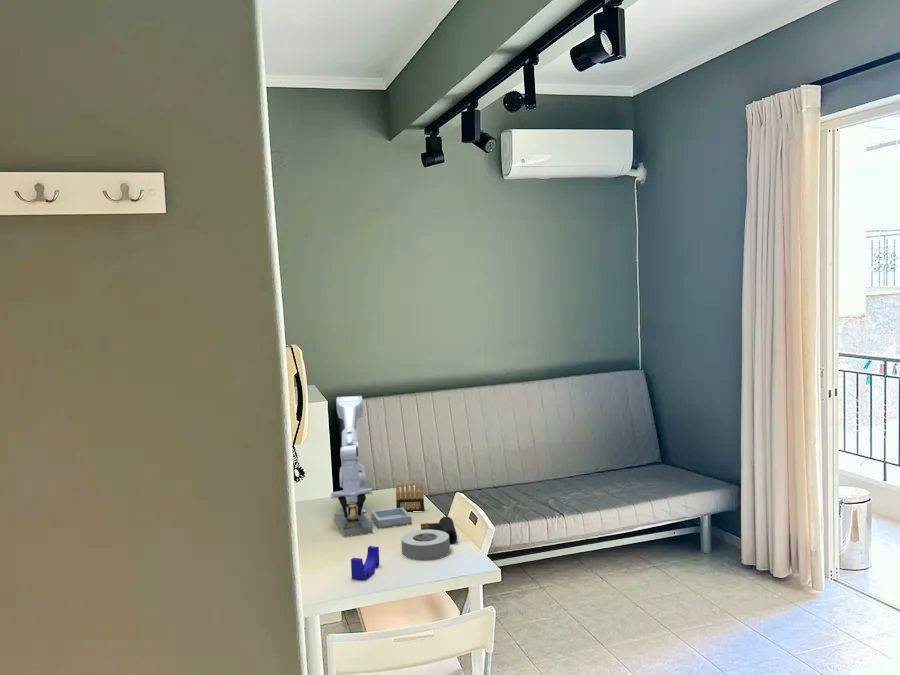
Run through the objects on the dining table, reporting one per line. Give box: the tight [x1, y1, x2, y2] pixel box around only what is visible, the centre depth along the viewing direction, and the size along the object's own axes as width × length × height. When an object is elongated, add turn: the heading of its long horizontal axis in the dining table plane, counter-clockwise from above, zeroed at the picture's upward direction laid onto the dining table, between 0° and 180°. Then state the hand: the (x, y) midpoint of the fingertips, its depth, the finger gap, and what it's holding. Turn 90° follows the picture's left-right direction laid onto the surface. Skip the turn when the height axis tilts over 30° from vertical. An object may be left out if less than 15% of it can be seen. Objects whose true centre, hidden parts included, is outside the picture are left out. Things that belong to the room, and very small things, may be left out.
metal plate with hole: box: [333, 511, 374, 537], centre depth 271 cm, size 20×10×2 cm, turn 18°
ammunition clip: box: [395, 480, 426, 513], centre depth 287 cm, size 11×2×12 cm, turn 92°
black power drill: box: [420, 515, 458, 545], centre depth 257 cm, size 12×5×15 cm
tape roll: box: [400, 529, 451, 561], centre depth 243 cm, size 15×15×5 cm
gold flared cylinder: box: [347, 501, 358, 522], centre depth 271 cm, size 4×4×9 cm
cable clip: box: [350, 545, 380, 582], centre depth 227 cm, size 12×4×6 cm, turn 159°
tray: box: [370, 508, 412, 529], centre depth 276 cm, size 12×12×3 cm
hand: (352, 516), depth 271 cm, fingers closed on gold flared cylinder, 4 cm apart
